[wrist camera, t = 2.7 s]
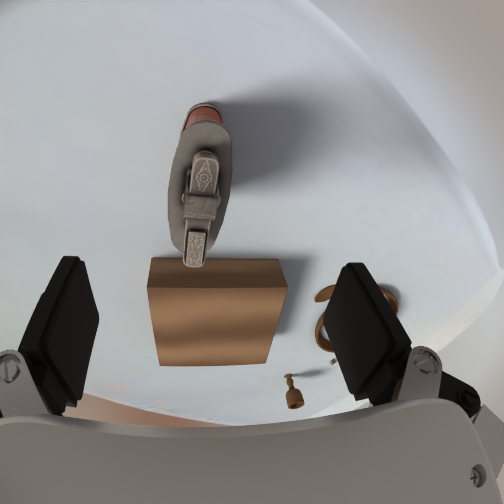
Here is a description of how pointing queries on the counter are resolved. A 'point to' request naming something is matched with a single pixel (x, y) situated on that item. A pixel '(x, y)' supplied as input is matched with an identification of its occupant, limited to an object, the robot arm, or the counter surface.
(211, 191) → the lighter
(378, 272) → the counter surface
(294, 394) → the place setting
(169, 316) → the walnut base
